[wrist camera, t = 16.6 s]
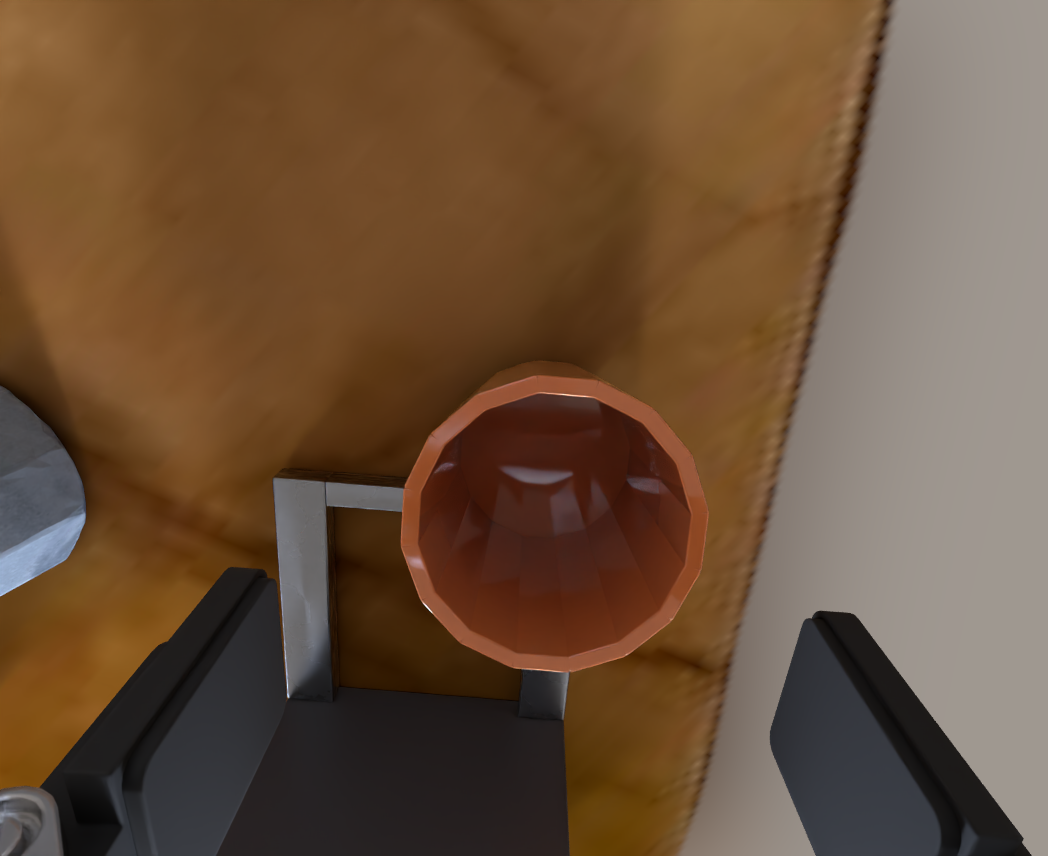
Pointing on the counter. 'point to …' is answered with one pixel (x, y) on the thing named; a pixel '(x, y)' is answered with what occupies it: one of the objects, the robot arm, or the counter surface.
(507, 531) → the cup
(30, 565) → the moka pot
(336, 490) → the cup bay
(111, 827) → the robot arm
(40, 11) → the counter surface
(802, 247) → the counter surface
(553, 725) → the grey box with dial
